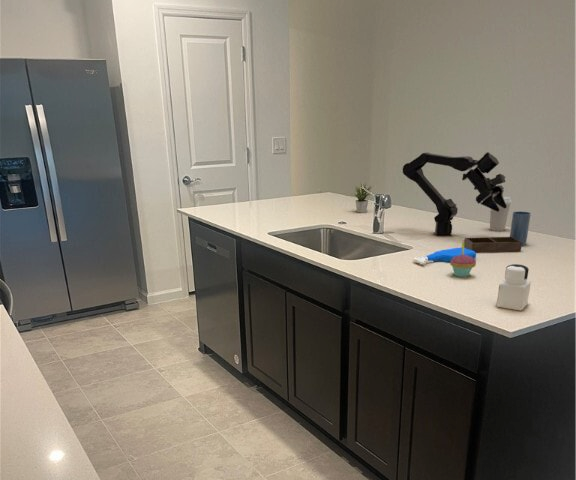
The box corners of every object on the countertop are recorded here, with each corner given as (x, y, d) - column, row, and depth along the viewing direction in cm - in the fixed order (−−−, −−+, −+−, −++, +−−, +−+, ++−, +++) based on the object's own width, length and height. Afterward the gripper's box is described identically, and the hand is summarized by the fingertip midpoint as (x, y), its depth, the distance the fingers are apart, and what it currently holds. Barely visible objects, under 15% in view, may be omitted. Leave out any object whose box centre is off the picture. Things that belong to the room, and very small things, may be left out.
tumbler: (512, 245, 228) (516, 214, 223) (506, 242, 234) (510, 211, 229) (528, 245, 228) (533, 214, 223) (522, 241, 234) (526, 211, 229)
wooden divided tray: (471, 252, 219) (472, 243, 218) (463, 246, 229) (464, 237, 227) (520, 251, 219) (522, 242, 218) (510, 245, 229) (512, 236, 227)
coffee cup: (507, 228, 261) (512, 196, 255) (508, 232, 252) (512, 199, 247) (486, 227, 264) (490, 195, 258) (486, 231, 255) (490, 198, 250)
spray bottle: (460, 246, 217) (408, 254, 208) (479, 252, 207) (425, 260, 199) (459, 253, 218) (407, 261, 210) (478, 259, 209) (425, 268, 200)
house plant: (376, 214, 301) (378, 183, 295) (351, 214, 301) (352, 184, 295) (373, 209, 314) (374, 180, 308) (349, 210, 314) (350, 181, 308)
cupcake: (445, 272, 194) (448, 238, 190) (468, 271, 195) (472, 237, 190) (454, 279, 186) (458, 244, 182) (478, 278, 187) (482, 243, 182)
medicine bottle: (502, 300, 166) (508, 261, 161) (527, 304, 162) (533, 264, 157) (496, 306, 160) (501, 267, 156) (521, 311, 156) (527, 270, 152)
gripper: (486, 169, 221) (511, 199, 219) (501, 165, 234) (524, 193, 232) (465, 188, 228) (489, 217, 226) (481, 183, 242) (503, 210, 240)
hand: (502, 209), depth 231 cm, fingers open, 9 cm apart
